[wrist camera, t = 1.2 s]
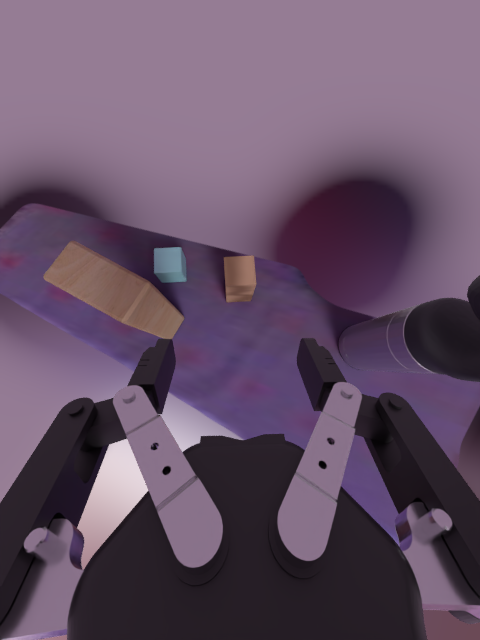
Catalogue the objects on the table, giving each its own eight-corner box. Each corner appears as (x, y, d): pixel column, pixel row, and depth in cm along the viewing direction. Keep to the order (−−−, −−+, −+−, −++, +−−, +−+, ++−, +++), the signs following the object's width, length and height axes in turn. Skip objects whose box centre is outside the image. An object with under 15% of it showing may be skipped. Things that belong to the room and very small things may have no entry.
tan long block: (248, 278, 47) (253, 255, 37) (250, 300, 46) (256, 284, 36) (225, 279, 47) (223, 257, 37) (226, 302, 46) (225, 285, 36)
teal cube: (185, 259, 47) (180, 247, 42) (186, 281, 46) (181, 271, 41) (162, 260, 47) (154, 248, 42) (162, 282, 46) (154, 273, 41)
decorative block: (123, 314, 44) (38, 276, 25) (139, 291, 45) (70, 236, 26) (170, 342, 44) (122, 325, 24) (186, 317, 45) (151, 282, 25)
